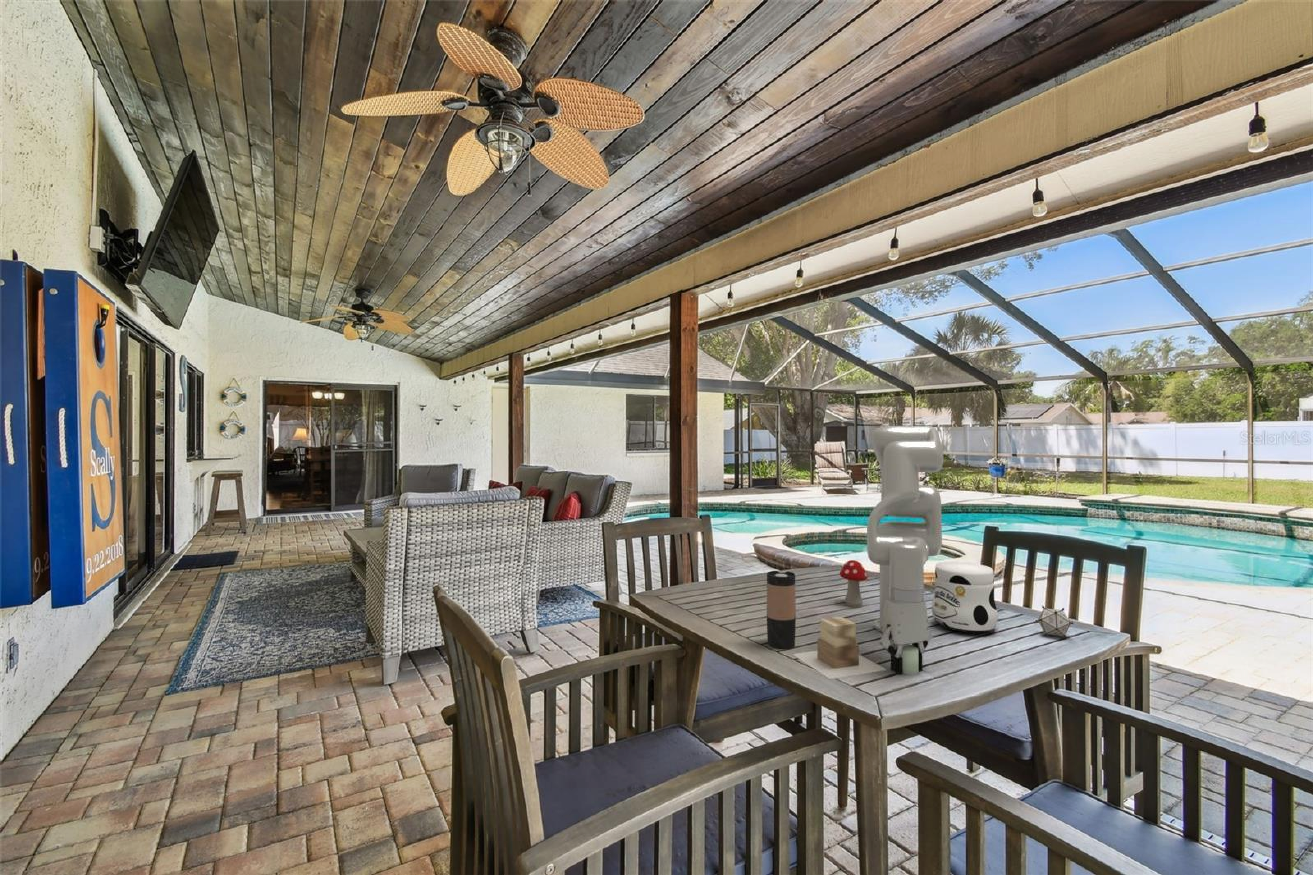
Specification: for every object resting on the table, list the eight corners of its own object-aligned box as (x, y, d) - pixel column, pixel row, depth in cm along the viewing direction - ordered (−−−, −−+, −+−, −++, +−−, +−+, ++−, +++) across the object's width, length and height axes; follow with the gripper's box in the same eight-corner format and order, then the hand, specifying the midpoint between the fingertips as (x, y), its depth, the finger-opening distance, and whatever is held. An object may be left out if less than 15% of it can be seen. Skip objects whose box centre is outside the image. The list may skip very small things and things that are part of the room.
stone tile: (844, 650, 152) (844, 646, 152) (886, 673, 137) (886, 669, 137) (792, 658, 147) (792, 654, 147) (829, 683, 132) (829, 678, 132)
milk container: (923, 628, 170) (923, 567, 170) (941, 614, 183) (941, 558, 183) (990, 642, 158) (990, 577, 158) (1003, 626, 171) (1003, 566, 171)
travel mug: (779, 655, 149) (779, 578, 149) (760, 646, 156) (760, 572, 156) (801, 650, 152) (801, 575, 152) (783, 641, 159) (782, 569, 159)
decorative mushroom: (873, 608, 190) (873, 563, 190) (849, 609, 188) (849, 564, 188) (857, 600, 199) (857, 556, 199) (834, 601, 198) (834, 557, 198)
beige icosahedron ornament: (1057, 647, 164) (1077, 619, 164) (1064, 646, 157) (1084, 616, 157) (1025, 627, 169) (1044, 599, 169) (1030, 624, 161) (1050, 595, 162)
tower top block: (840, 636, 146) (840, 616, 146) (855, 644, 140) (855, 623, 140) (820, 638, 144) (820, 618, 144) (834, 647, 138) (834, 626, 138)
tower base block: (841, 654, 147) (840, 635, 147) (858, 665, 140) (858, 644, 140) (817, 658, 144) (817, 638, 144) (834, 668, 138) (834, 648, 138)
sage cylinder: (907, 666, 140) (907, 642, 140) (923, 675, 135) (923, 650, 135) (889, 669, 138) (889, 645, 138) (905, 678, 133) (905, 652, 133)
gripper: (923, 587, 143) (923, 659, 143) (866, 593, 137) (866, 669, 138) (947, 595, 136) (947, 671, 136) (888, 602, 130) (888, 682, 130)
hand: (906, 669), depth 137 cm, fingers closed on sage cylinder, 5 cm apart
